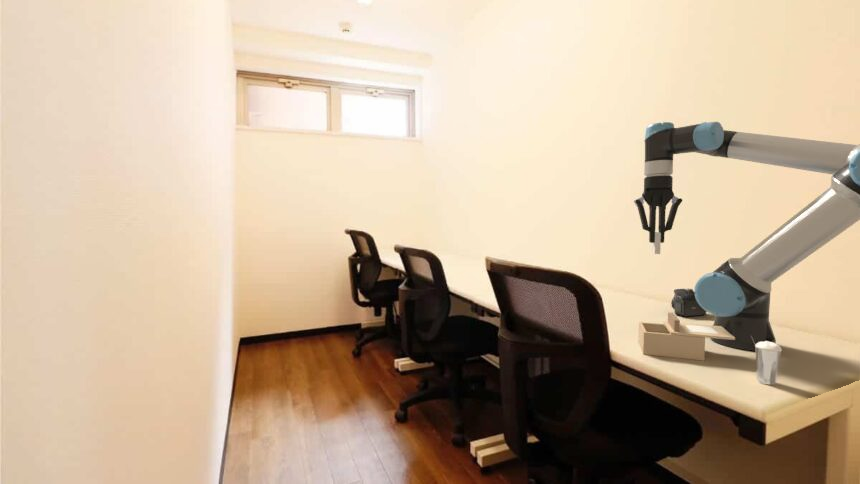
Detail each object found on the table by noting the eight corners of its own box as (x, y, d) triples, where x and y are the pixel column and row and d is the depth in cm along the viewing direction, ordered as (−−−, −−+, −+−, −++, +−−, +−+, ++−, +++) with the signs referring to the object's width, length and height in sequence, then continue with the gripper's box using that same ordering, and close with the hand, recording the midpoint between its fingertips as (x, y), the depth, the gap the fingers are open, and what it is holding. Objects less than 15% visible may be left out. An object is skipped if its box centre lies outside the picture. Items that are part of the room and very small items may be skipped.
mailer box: (693, 347, 114) (694, 326, 113) (704, 360, 103) (705, 337, 103) (638, 341, 119) (638, 321, 118) (643, 354, 109) (643, 332, 108)
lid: (721, 328, 111) (721, 315, 111) (734, 340, 101) (735, 326, 100) (663, 323, 116) (663, 311, 116) (670, 334, 106) (671, 320, 106)
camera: (680, 309, 158) (681, 284, 158) (709, 314, 150) (710, 288, 150) (665, 314, 150) (666, 288, 149) (696, 320, 142) (697, 292, 142)
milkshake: (749, 375, 94) (751, 333, 93) (779, 381, 91) (781, 338, 90) (748, 381, 90) (750, 338, 90) (780, 388, 87) (782, 343, 86)
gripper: (678, 176, 123) (676, 252, 125) (632, 177, 127) (630, 252, 129) (686, 173, 116) (684, 255, 118) (637, 175, 120) (635, 254, 121)
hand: (656, 253), depth 123 cm, fingers closed
